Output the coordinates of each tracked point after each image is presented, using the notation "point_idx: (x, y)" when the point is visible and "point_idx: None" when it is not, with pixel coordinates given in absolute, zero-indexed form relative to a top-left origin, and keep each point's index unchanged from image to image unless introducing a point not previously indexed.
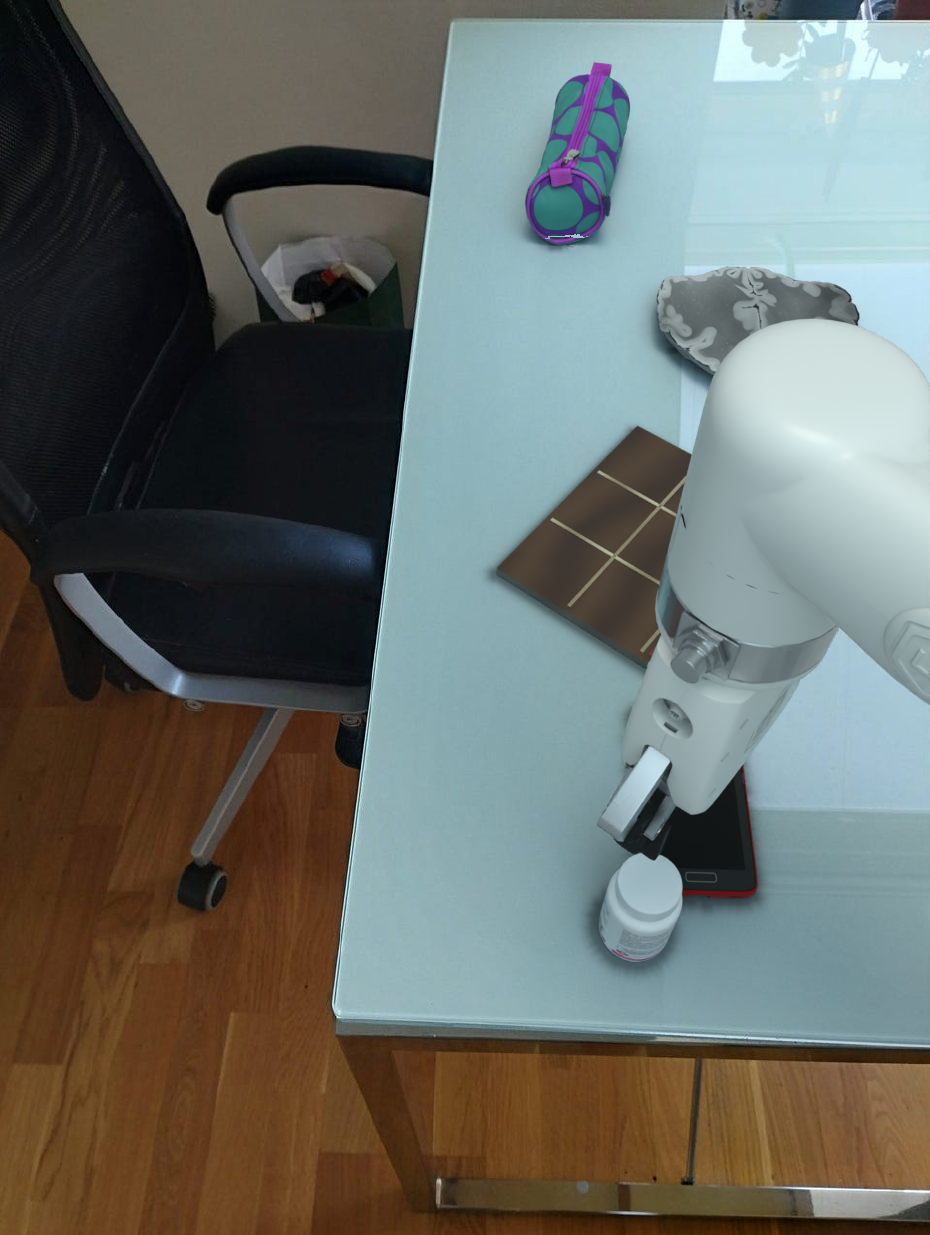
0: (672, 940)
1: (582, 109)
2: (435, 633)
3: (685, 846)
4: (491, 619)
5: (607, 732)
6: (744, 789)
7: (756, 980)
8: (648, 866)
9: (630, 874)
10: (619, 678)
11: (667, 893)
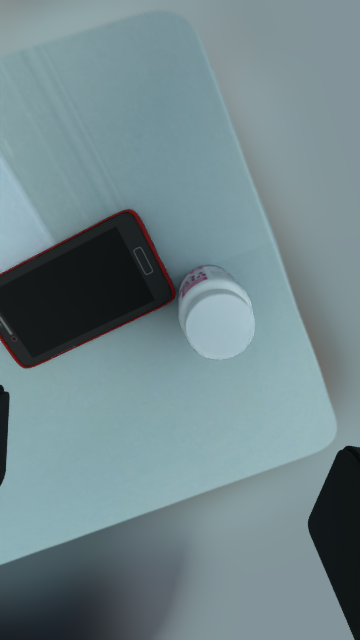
0: (202, 260)
1: None
2: (58, 512)
3: (123, 283)
4: (21, 487)
5: (58, 376)
6: (40, 254)
7: (203, 179)
8: (204, 336)
9: (221, 349)
10: (6, 387)
11: (224, 308)
